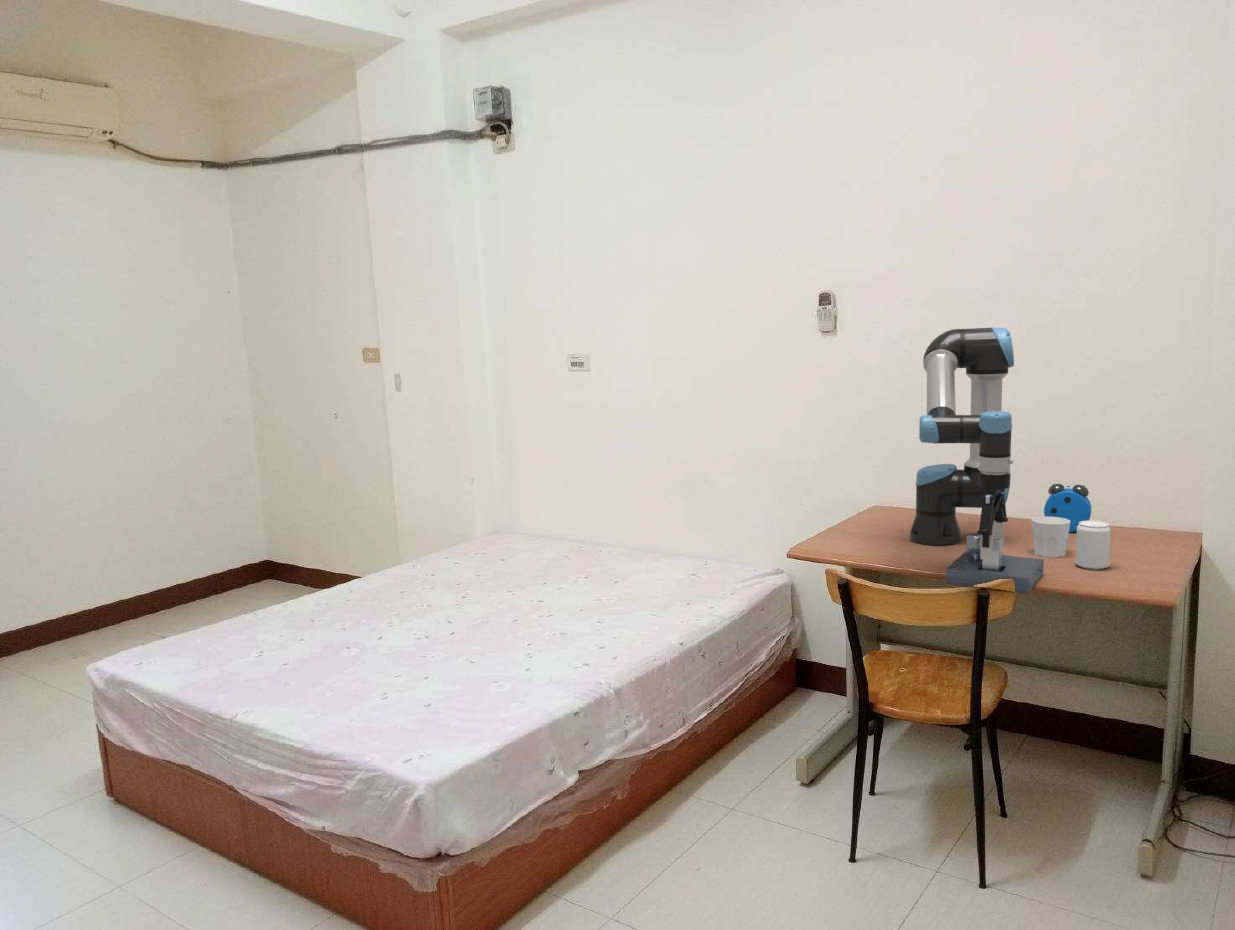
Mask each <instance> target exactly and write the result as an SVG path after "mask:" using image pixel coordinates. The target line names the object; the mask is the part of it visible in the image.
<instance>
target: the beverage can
mask: <svg viewBox="0 0 1235 930" xmlns="http://www.w3.org/2000/svg"><path fill="white" fill-rule="evenodd" d="M1075 537H1076V540H1075V541H1076V542H1075V564H1076V565H1077V566H1079V567H1080V568H1082V569H1086V570H1095V571H1098V570H1104V569H1106V568H1108V567H1109V566H1110V555H1111V553H1110V552H1111V527H1110V523H1108V522H1104V521H1101V520H1100V521H1099V520H1089V521H1081V522H1079V525H1078V526H1077V531H1076V535H1075Z"/></svg>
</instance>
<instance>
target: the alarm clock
mask: <svg viewBox="0 0 1235 930" xmlns="http://www.w3.org/2000/svg"><path fill="white" fill-rule="evenodd" d="M1066 487H1067V488H1066ZM1066 487H1065V486H1064V485H1063V484H1061V483H1052V485H1051V486H1050V487H1049V488H1048V491H1047V492H1048V494H1049V496H1048V498H1047V500H1046V502H1045V504H1044V507H1043V508H1044V509H1043V514H1044V515H1043V516H1044V517H1060V518H1065V519H1068V520H1070V527H1069V533H1072V532H1073V533H1074V532H1077V526H1078V525H1079V522H1081V521H1090V519H1091V515H1092V503H1091V501H1090V500H1089V498H1088V496H1089V494H1090V491H1089V489H1088V488H1087V487H1086V486H1085V485H1082V484H1074V486H1073V487H1072V488H1071V485H1066Z"/></svg>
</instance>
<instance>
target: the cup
mask: <svg viewBox="0 0 1235 930" xmlns="http://www.w3.org/2000/svg"><path fill="white" fill-rule="evenodd" d="M1030 520H1031V529H1032V536H1033V552H1034V555H1036V556H1040V557H1043V558H1057V559H1058V558H1061V557H1066V553H1067V544H1068V539H1069V533H1070V532H1069V527H1070V520H1068V519H1065V518H1060V517H1045V516H1036V517H1032V518H1031V519H1030Z"/></svg>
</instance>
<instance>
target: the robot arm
mask: <svg viewBox="0 0 1235 930" xmlns="http://www.w3.org/2000/svg"><path fill="white" fill-rule="evenodd" d="M925 349H926V350H925V352H924V355H923V361H922V362H923V364H922V365H923V369H924V371H925V372H926V414H925V415H921V416H920V417H919V434H918V435H919V441H920V442H921V443H927V444H969V458H968V459H967V460H966V461H965V462H964V463H963V469H958V467H957V465H956V464H953V463H940V464H939V463H937V464H933V465H926V466H924V467H921V468H919V469H918V471H916V472H917V473H916V481H915V488H916V489H915V490H916V491H915V492H916V494H915V499H916V500H915V515H914V519H913V522H912V525H911V527H910V529H909V540H910V541H911V542H912V543H913V542H914V543H917V544H922V545H929V546H950V545H951V546H952V545H956V544H959V543H960V542H961V541H962V532H961V529H960V525H959V522H958V519H957V516H956V511H957V509H956V508H966V509H967V508H971V509H973V508H975V509H980V508H981V512H980V519H979V527H978V530H976V531H977V532H976V533H977V534H981V547H980V559H985V560H992V546H993V536H998V537H1003V548H1004V547H1005V523H1008V522H1009V517H1007V507H1006V506H1007V505H1006V504H1007V501H1008V498H1009V493H1010V488H1011V477H1012V475H1011V474H1012V473H1011V464H1013V463H1014V461H1013V460H1012V459H1011V458H1012V457H1011V454H1012V453H1011V452H1012V451H1011V450H1012V449H1011V448H1012V430H1013V422H1012V418H1013V417H1012V414H1011V413H1010V412H1009V411H1004V410H1002V409H1003V408H1002V406H1003V405H1002V403H1003V380H1004V378H1005V377H1007V375H1008V374H1009V368H1013V367H1014V365H1015V359H1014V358H1015V357H1014V356H1015V355H1014V347H1013V340H1012V336H1011V332H1010V330H1009V329H1008V328H1005V327H993V326H991V327H978V328H977V327H976V328H954V329H949V330H947V331H945V332H943V333H941V334H940V335H938V336H937V337H936V338H934V339H933V340H932V341H931V342H930V343H929V345H928V346H927V348H925ZM957 369H965V375H966V376H967V377H968V378H970V381H971V382H970V414H957V412H956V381H955V379H956V378H955V372H956V370H957Z"/></svg>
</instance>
